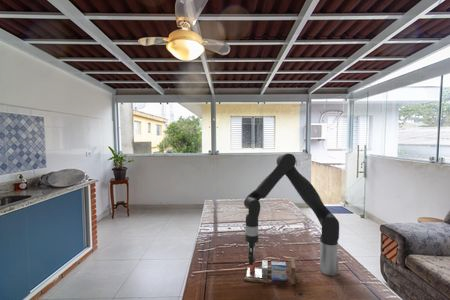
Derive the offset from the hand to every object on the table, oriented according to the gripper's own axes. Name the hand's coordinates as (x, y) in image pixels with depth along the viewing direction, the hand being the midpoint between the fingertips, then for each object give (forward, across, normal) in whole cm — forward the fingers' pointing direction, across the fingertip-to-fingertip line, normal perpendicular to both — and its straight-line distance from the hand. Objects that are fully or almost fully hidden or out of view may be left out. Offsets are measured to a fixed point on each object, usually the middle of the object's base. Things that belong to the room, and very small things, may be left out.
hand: (251, 260), depth 136 cm
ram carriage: (+8, 0, -3) cm, 9 cm away
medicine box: (+8, -1, -15) cm, 17 cm away
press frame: (+8, 0, -10) cm, 13 cm away
